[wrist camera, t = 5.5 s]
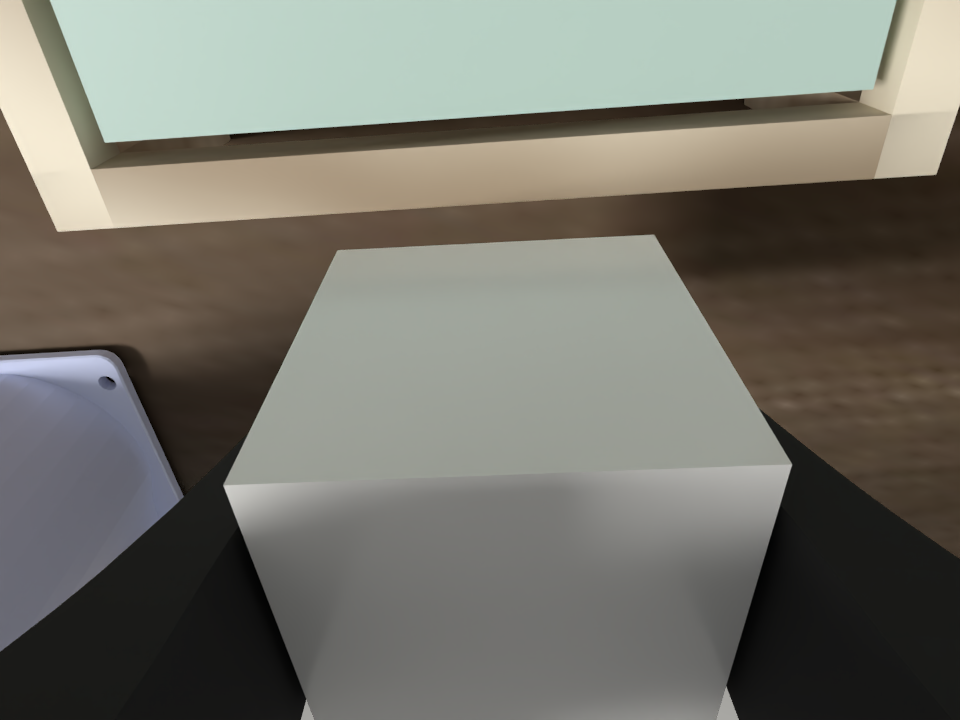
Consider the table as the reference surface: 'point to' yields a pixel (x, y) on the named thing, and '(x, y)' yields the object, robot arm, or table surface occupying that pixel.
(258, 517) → the white cube
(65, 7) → the trapdoor
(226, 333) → the table surface
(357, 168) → the trapdoor frame
